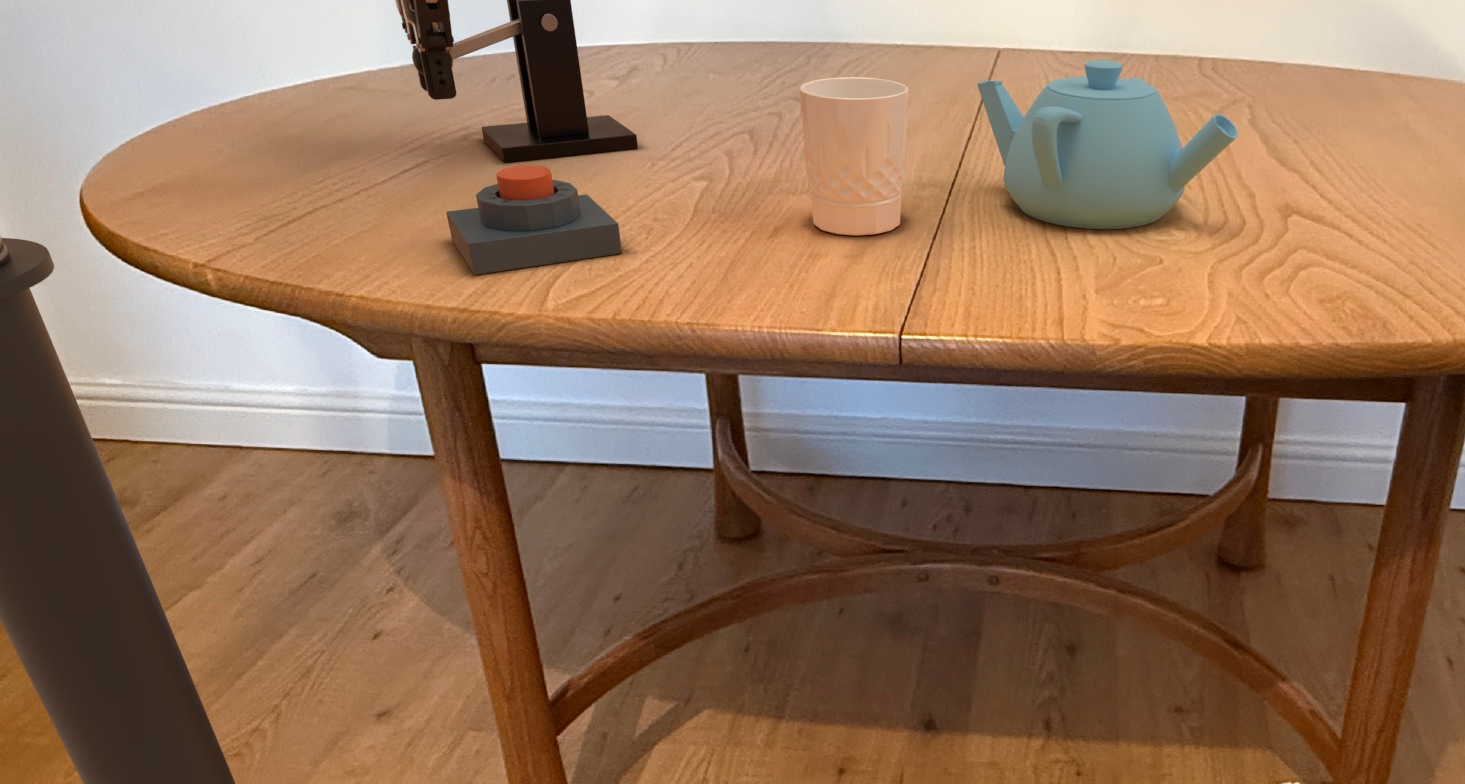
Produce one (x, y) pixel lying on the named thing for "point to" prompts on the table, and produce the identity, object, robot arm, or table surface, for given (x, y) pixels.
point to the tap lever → (475, 42)
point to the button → (525, 183)
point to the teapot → (1098, 149)
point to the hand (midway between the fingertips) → (439, 93)
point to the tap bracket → (552, 92)
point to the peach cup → (855, 152)
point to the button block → (532, 230)
